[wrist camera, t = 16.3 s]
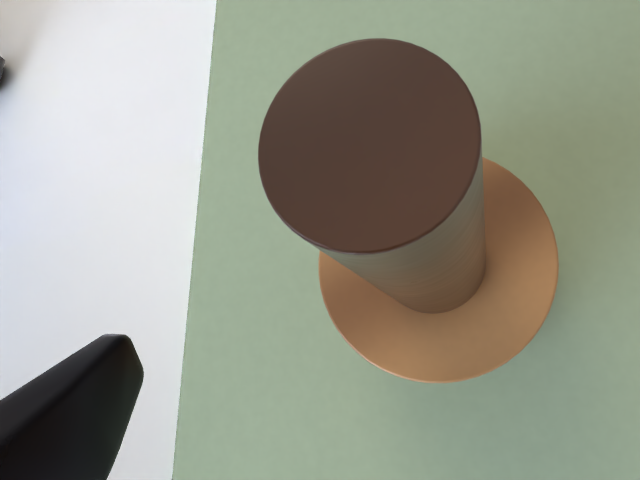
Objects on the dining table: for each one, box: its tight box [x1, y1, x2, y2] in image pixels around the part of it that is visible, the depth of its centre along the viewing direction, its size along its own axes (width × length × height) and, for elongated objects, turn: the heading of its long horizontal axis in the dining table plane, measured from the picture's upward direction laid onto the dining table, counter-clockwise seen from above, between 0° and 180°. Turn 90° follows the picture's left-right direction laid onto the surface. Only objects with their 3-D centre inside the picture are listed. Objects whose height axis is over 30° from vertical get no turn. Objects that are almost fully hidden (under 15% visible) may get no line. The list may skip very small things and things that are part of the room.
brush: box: [258, 38, 559, 383], centre depth 14 cm, size 6×6×13 cm
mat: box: [172, 0, 640, 480], centre depth 20 cm, size 22×16×1 cm
